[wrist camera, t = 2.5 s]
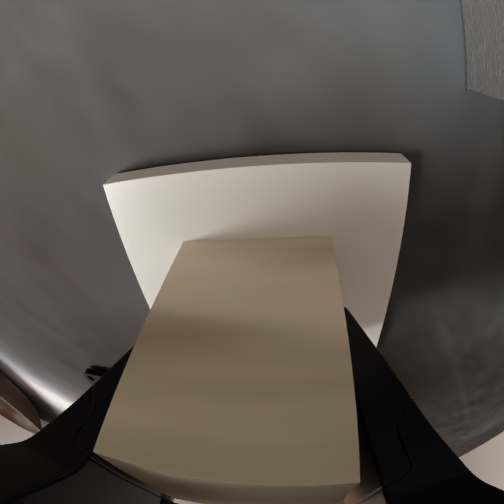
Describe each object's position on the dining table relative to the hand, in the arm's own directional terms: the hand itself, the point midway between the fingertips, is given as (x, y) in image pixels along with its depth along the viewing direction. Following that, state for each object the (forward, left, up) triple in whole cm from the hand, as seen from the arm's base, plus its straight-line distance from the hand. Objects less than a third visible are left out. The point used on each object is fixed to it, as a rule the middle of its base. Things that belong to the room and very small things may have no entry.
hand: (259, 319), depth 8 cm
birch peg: (0, 0, -1) cm, 1 cm away
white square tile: (0, 0, -2) cm, 2 cm away
